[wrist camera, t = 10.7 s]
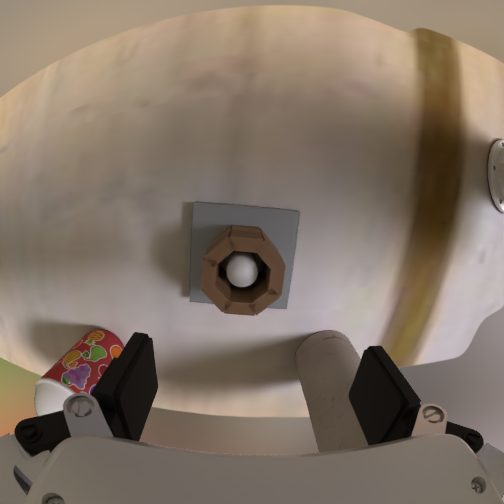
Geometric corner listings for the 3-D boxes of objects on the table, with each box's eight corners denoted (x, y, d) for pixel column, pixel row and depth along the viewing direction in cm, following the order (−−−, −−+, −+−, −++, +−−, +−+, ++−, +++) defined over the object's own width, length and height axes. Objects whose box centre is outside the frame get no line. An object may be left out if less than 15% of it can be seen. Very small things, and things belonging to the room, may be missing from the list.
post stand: (297, 210, 30) (310, 217, 24) (284, 303, 32) (293, 328, 26) (195, 201, 29) (184, 206, 23) (191, 296, 32) (181, 320, 26)
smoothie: (82, 353, 34) (16, 442, 14) (86, 310, 32) (0, 401, 13) (129, 377, 35) (80, 482, 15) (139, 336, 33) (75, 453, 14)
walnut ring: (279, 229, 29) (289, 241, 23) (271, 291, 30) (278, 317, 24) (212, 222, 28) (204, 233, 22) (208, 286, 30) (200, 310, 24)
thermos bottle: (360, 335, 34) (467, 506, 7) (335, 379, 36) (402, 546, 9) (308, 324, 33) (395, 541, 6) (285, 372, 35) (326, 568, 8)
